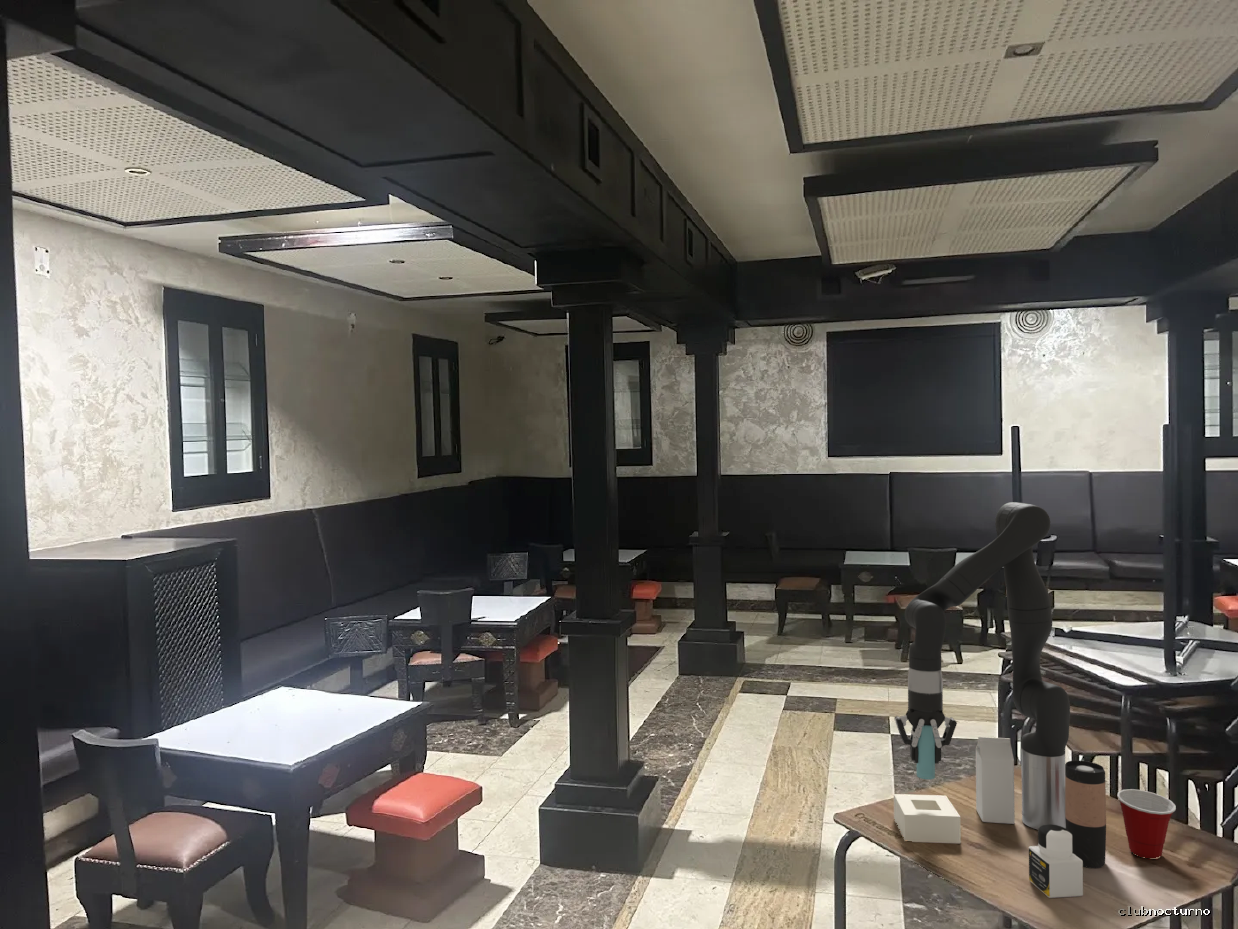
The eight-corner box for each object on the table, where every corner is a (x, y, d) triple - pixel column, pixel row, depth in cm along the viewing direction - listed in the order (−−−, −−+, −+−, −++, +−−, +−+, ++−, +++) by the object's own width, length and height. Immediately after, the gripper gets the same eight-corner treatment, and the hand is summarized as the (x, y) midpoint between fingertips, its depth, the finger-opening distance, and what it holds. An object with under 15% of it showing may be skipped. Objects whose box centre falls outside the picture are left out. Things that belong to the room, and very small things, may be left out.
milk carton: (1014, 824, 200) (1013, 743, 200) (982, 822, 202) (981, 741, 202) (1007, 812, 207) (1006, 734, 207) (976, 810, 209) (975, 732, 209)
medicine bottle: (1028, 881, 174) (1027, 822, 174) (1061, 879, 174) (1061, 820, 174) (1048, 899, 167) (1048, 837, 167) (1083, 896, 167) (1083, 835, 167)
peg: (932, 773, 199) (932, 721, 199) (937, 779, 195) (936, 727, 195) (914, 772, 200) (914, 721, 199) (918, 779, 196) (918, 726, 196)
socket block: (946, 821, 203) (945, 795, 203) (960, 843, 191) (960, 816, 191) (893, 819, 204) (893, 794, 204) (905, 841, 192) (904, 814, 192)
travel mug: (1057, 856, 184) (1056, 763, 184) (1082, 849, 187) (1081, 758, 187) (1089, 872, 177) (1088, 775, 177) (1115, 864, 180) (1114, 769, 180)
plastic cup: (1152, 870, 178) (1152, 812, 178) (1105, 848, 188) (1105, 793, 188) (1188, 860, 182) (1188, 804, 182) (1140, 839, 192) (1140, 786, 192)
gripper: (952, 684, 200) (953, 758, 200) (890, 683, 202) (890, 756, 202) (962, 693, 193) (962, 769, 193) (896, 691, 194) (897, 767, 194)
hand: (925, 762), depth 197 cm, fingers closed on peg, 4 cm apart
